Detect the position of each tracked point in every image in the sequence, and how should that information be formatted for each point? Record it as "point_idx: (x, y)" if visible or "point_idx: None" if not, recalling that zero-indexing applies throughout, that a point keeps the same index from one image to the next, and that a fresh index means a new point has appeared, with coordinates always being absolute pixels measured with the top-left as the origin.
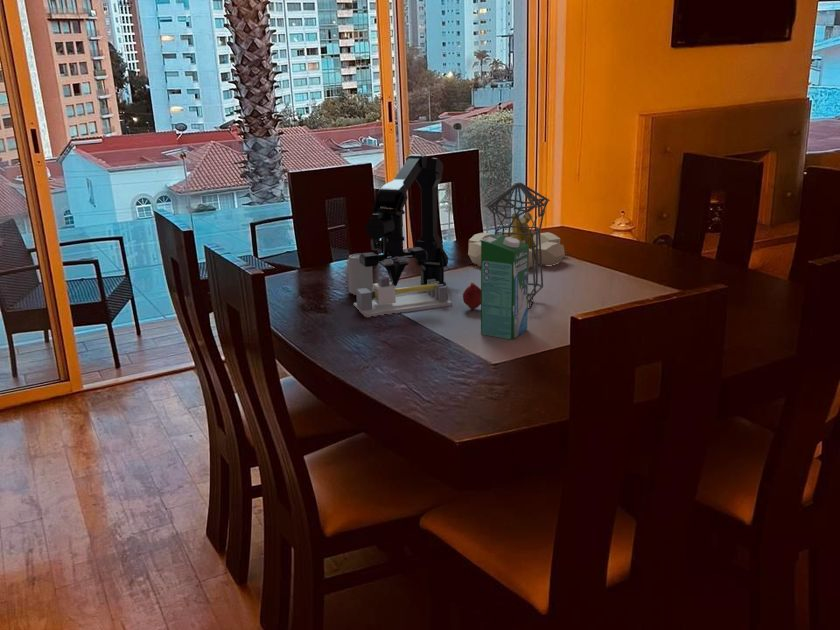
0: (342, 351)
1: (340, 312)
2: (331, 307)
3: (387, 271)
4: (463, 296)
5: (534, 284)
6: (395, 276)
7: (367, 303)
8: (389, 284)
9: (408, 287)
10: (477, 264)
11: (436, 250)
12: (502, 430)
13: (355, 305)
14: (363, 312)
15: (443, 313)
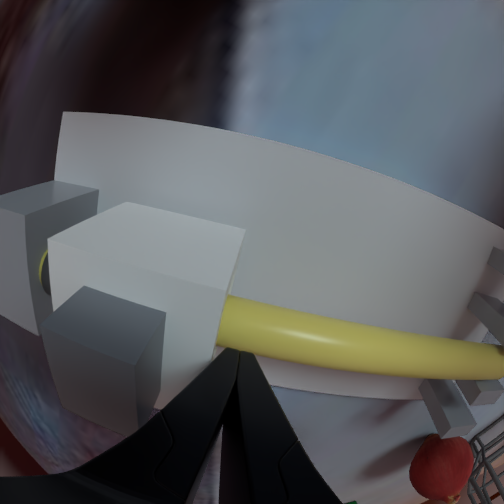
0: (19, 417)
1: (10, 178)
2: (13, 89)
3: (123, 451)
4: (421, 472)
5: (487, 502)
6: (225, 456)
7: None
8: (156, 398)
9: (357, 368)
10: None
11: None
12: None
13: (60, 149)
14: None
15: (346, 436)
